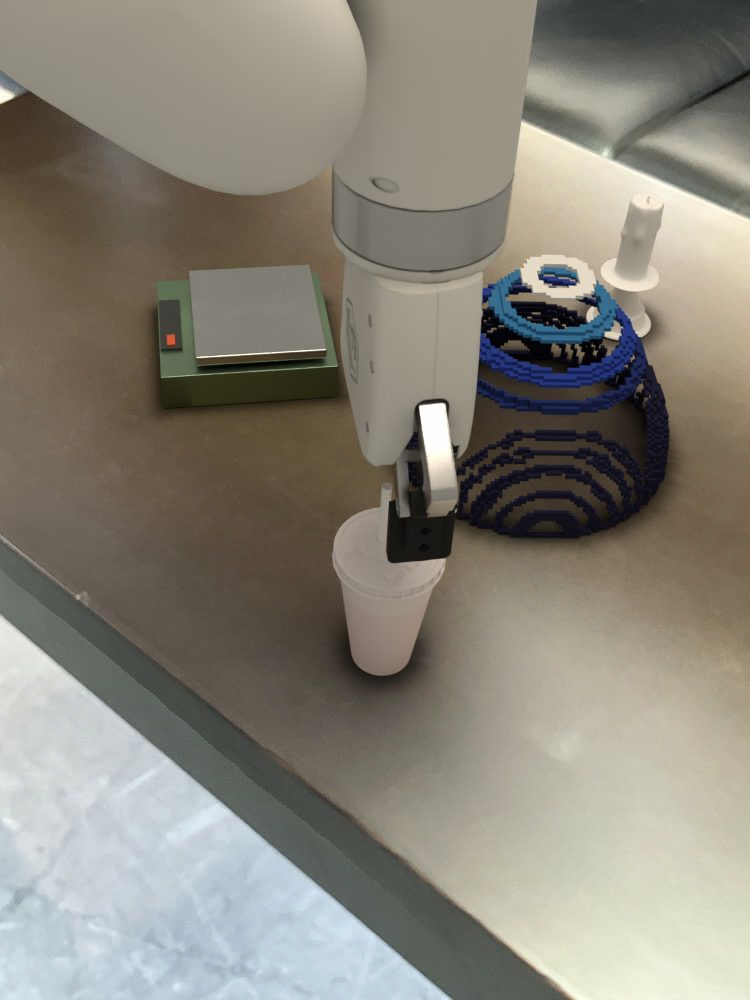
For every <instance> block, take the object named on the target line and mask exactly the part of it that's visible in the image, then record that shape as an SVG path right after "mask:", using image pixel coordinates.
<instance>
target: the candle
mask: <svg viewBox="0 0 750 1000" xmlns="http://www.w3.org/2000/svg"><path fill="white" fill-rule="evenodd" d="M664 208H665V203H664V201H663V200H662V199H661V198H660V197H658V196H656V195H654V194H651V193H636V194H635V195H634V196H633V197H632V198H631V200H630V201H629V204H628V209H627V212H626V216H625V220H624V223H623V226H622V228H621V231H620V238H621V240H620V244H619V248H618V253H617V257H613V258H611V259H609V260H606V261H605V262H604V263H603V264H602V265H601V267H600V269H599V270H600V275H601V278H602V279H603V280H604V282H606V283H607V284H608V285H609V286H611V287H612V290H610V291H609V293H610V297H611V299H615V300H616V304H618V305H619V308H621V309H622V311H624V312H625V315H627V317H628V318H630V320H631V323H632V326H633V329H634V330H635V333H636V334H638V337H641V338H643V337H645V336H646V335H648V333H649V332H650V330H651V327H652V322H651V318H650V317H649V315H648V314H647V313H646V308H645V305H644V303H643V302H642V301H641V300H640V296H639V293H642V292H647V291H650V290H652V289H654V288H655V287H656V286H657V285H659V282H660V275H659V272H658V271H657V270H656V268H654V266H653V265H651V264H650V261H651V258H652V255H653V250H654V247H655V242H656V239H657V234H658V233H659V230H660V229H661V227H662V218H663V212H664ZM597 315H600V313H599V312H598V309H597V307H593V306H590V307H589V308H588V310H587V312H586V315H585V318H586V322H590V321H591V320H594V317H597ZM613 321H614V327H611V328H612V329H611V332H605V335H604V337H603V338H606V339H610V340H614V341H619V336H622V335H621V332H620V331H621V328H623V327H620V324H619V323H617V321H615V320H613Z"/></svg>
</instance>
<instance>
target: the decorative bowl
mask: <svg viewBox="0 0 750 1000" xmlns="http://www.w3.org/2000/svg"><path fill="white" fill-rule="evenodd" d="M545 284H546V285H545ZM519 294H532V296H533V297H545V300H546V299H548V300H549V301H550V302H573V303H575V302H576V301H577V302H579V303H581V304H582V303H583V304H585V306H590V307H592V306H593V307H597V309H598V312H599V313H600V315H597V317H594V320H591V321H590V322H587V319H586V316H582V315H578V310H577V309H576V310H575V309H569V308H568V307H567V306H563V305H558V303H547V301H533V300H532V301H529V300H526V301H525V300H507V298H509V295H510V296H518V295H519ZM487 302H488V306H487V307H486V308H482V311H483V316H482V318H481V334H480V350H479V361H481V364H486V366H487V367H490V370H491V372H499V374H500V375H503V376H504V378H505V377H507V378H508V380H517V383H529V384H530V385H531V386H538V388H539V389H581V387H587V386H588V387H592V386H593V384H600V383H601V382H604V385H608V387H615V390H614V389H609V390H608V392H601V393H600V395H599V394H597V397H585V400H582V399H581V400H576V399H575V400H573V399H530V398H531V397H530V396H518V395H517V393H509V391H507V390H504V388H496V385H491V382H487V380H486V379H485V380H483V378H482V377H478V376H477V388H476V396H481V399H482V398H483V399H489V401H493V402H494V404H498V408H499V409H502V410H515V412H517V413H518V412H519V413H520V412H521V413H540V415H541V416H579V413H587V414H595V413H596V414H598V413H599V411H610V408H613V407H614V406H616V405H617V403H624V401H625V400H627V398H628V399H629V402H630V403H633V405H634V408H638V410H639V412H642V414H643V416H644V419H645V423H646V424H645V426H646V430H645V432H646V434H645V437H646V440H645V444H646V445H645V449H644V450H645V455H646V456H647V457H645V460H644V463H643V465H644V468H643V470H642V467H641V465H639V460H638V459H637V460H636V457H633V454H631V449H630V448H628V447H627V445H621V443H620V442H618V441H617V439H603V434H602V433H600V431H599V430H586V431H585V432H577V430H576V429H534V432H526V431H525V432H523V429H514V430H513V432H505V433H504V437H502V438H500V440H496V443H488V444H487V446H483V449H479V451H478V452H474V455H471V454H470V457H468V458H467V457H466V458H465V460H462V461H461V466H456V477H457V476H466V472H467V468H469V470H470V471H471V470H472V471H474V470H475V466H476V465H479V464H480V462H484V461H485V460H484V459H489V451H496V450H497V448H500V450H502V451H506V450H507V451H510V449H511V448H514V447H515V442H523V439H534V442H567V443H569V442H572V443H574V442H575V443H576V441H577V440H585V442H586V443H596V445H597V446H603V447H604V449H607V452H611V454H609V453H599V451H598V450H592V449H591V447H577V450H575V449H574V450H572V449H571V450H569V449H567V450H566V449H531V447H530V446H517V449H513V450H512V455H510V452H500V454H499V455H496V456H495V458H493V457H492V458H491V461H490V462H491V463H483V464H482V465H481V466H478V467H477V474H476V475H475V473H474V472H469V474H468V477H464V480H459V481H460V482H459V497H458V508H457V512H456V515H455V517H456V519H457V520H468V525H469V526H477V529H492V530H493V532H497V535H509V538H577V539H578V538H581V535H583V536H591V535H592V533H598V532H599V530H609V529H610V527H617V524H619V525H620V522H626V521H627V519H629V518H630V516H633V514H635V513H640V510H641V507H642V506H643V505H648V504H649V502H650V499H651V498H652V497H654V495H656V494H657V492H658V489H659V487H660V484H661V483H662V481H664V479H665V476H666V469H667V465H668V456H669V454H668V451H669V448H670V433H671V432H670V425H669V423H670V420H669V418H670V416H669V413H668V409H667V405H666V402H667V400H666V397H665V394H664V391H663V388H662V385H661V383H659V382H658V378H657V375H656V372H655V369H654V366H653V364H649V359H648V357H647V354H646V351H645V347H644V344H643V341H642V337H638V334H636V333H635V330H634V329H633V326H632V323H631V320H630V318H628V317H627V315H625V312H624V311H622V309H621V308H619V305H618V304H616V300H615V299H611V297H610V291H607V288H605V286H604V284H600V282H599V280H598V279H596V277H595V272H594V269H590V268H589V265H588V262H584V261H583V259H579V258H578V257H566V255H565V254H541V255H540V256H529V258H526V259H525V263H522V267H520V268H519V269H514V271H511V272H510V273H507V275H504V277H502V278H500V280H497V282H496V283H487V287H483V292H482V306H484V304H487ZM613 320H615V321H617V323H619V324H620V327H623V328H621V331H620V332H621V335H622V336H619V340H618V342H619V344H616V345H615V346H614V350H611V352H610V355H608V350H609V349H608V347H606V345H605V344H603V343H604V338H605V337H604V335H605V332H611V329H612V328H611V327H614V321H613ZM509 341H510V342H513V341H517V342H518V341H519V342H520V343H521V344H523V346H524V347H526V349H502V347H504V346H505V344H509ZM553 344H555V346H558V349H560V354H559V356H554V355H555V354H554V351H552V347H553ZM567 345H569V349H570V351H572V352H571V353H572V354H571V358H568V356H569V352H568V351H566V350H567ZM576 345H578V347H579V348H580V352H581V353H584V354H583V355H582V359H581V362H580V363H579V360H580V357H579V355H577V354H578V347H576ZM594 352H596V354H594ZM515 357H516V358H517V357H519V358H522V357H523V358H528V359H529V360H552V362H557V363H558V362H559V364H560V365H566V366H567V370H566V372H567V373H552V371H553V370H552V367H544V366H543V367H540V366H539V364H531V362H530V361H518V359H516V358H515ZM633 357H634V358H633ZM640 385H642V387H643V388H641V391H637V389H638V388H639V386H640ZM645 399H646V400H645ZM644 400H645V401H644ZM644 405H645V406H644ZM412 447H419V439H418V432H413V436H412V437H411V439H410V441H409V442H408V444H407V446H406V447H405V448H412ZM610 455H611V457H612V458H614V460H615V461H617V463H618V464H620V465H621V466H623V469H626V471H622V468H618V467H616V465H615V464H614V465H613V462H612V459H610ZM516 456H517V457H519V456H520V457H521V458H517V457H516ZM535 456H536V457H537V456H538V457H573V459H574V460H585V465H586V466H592V468H593V469H595V470H596V472H598V473H599V474H600V475H606V477H608V478H609V480H611V481H612V483H615V485H616V486H618V488H617V489H618V492H620V497H622V500H621V508H623V510H622V509H619V507H617V501H615V499H614V498H613V493H610V491H609V490H607V489H606V487H603V484H602V485H601V484H600V482H598V481H597V479H596V478H595V479H593V474H592V473H590V471H589V470H584V471H583V469H582V467H575V464H543V463H542V464H540V463H539V464H537V463H536V464H533V466H525V467H524V469H512V471H511V472H508V473H507V475H499V476H498V478H497V477H496V478H494V480H491V481H490V483H486V484H485V489H480V494H476V495H475V500H471V504H470V508H469V513H463V509H464V504H468V503H469V490H473V489H474V485H483V482H484V481H483V476H487V475H488V473H492V471H496V470H497V465H499V467H500V468H504V467H505V465H526V464H527V460H528V459H529V460H530V459H532V460H533V459H535ZM587 457H591V458H590V459H589V458H587ZM407 464H408V478H409V481H411V486H412V487H419V490H423V489H422V487H423V483H424V475H423V467H422V466H421V474H420V475H421V477H418V476H417V475H418V462H407ZM582 472H583V473H582ZM625 473H626V475H629V477H630V478H632V480H633V485H629V484H628V480H627V479H625ZM542 474H545V477H563V474H564V479H565V480H575V483H583V486H590V490H589V492H590V494H591V495H593V497H596V499H597V500H599V501H600V503H605V511H607V515H608V517H607V518H606V520H604V521H603V523H602V516H601V515H599V513H598V512H596V511H597V510H596V507H593V504H590V502H589V501H587V499H586V498H583V496H582V495H576V492H575V493H573V490H565V489H564V490H563V489H561V490H555V489H553V490H549V489H541V490H540V489H539V490H538V489H536V490H535V492H527V493H526V495H518V497H517V498H516V497H514V498H513V500H512V501H511V500H509V503H505V504H504V506H500V509H499V511H495V515H494V520H493V521H494V522H484V519H483V517H484V516H487V515H489V510H493V509H494V505H497V504H498V503H499V499H503V498H504V494H503V492H504V491H507V490H508V488H512V487H513V485H521V482H523V483H524V482H526V483H527V482H528V483H529V481H530V480H540V479H542V478H543V476H542ZM457 478H458V477H457ZM644 481H645V482H644ZM632 490H633V492H635V494H634V495H635V497H637V498H636V500H635V501H633V502H632V501H631V499H632V495H633V492H632ZM544 499H545V500H569V502H570V503H573V505H575V506H576V508H580V509H581V508H582V513H583V514H585V515H586V517H588V519H587V522H586V525H580V523H581V520H580V518H577V515H574V513H573V512H571V510H569V509H565V510H564V509H534V510H533V512H524V513H525V514H524V515H523V514H521V515H520V518H519V520H515V524H514V525H511V526H510V525H504V520H505V519H508V518H509V514H510V513H513V512H514V508H522V507H523V505H527V502H533V503H534V502H536V500H544ZM541 522H555V525H558V527H559V528H561V529H562V530H563V531H528V530H532V528H533V527H536V526H537V525H540V524H541Z"/></svg>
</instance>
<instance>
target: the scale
mask: <svg viewBox="0 0 750 1000" xmlns="http://www.w3.org/2000/svg"><path fill="white" fill-rule="evenodd" d="M311 274H312V279H313V284H314V289H315V294H316V299H317V304H318V309H319V314H320V319H321V324H322V329H323V334H324V339H325V343H326V348H327V357H326V358H314V359H298V360H282V361H266V362H250V363H234V364H218V365H202V366H197V365H196V359H195V346H194V333H193V320H192V307H191V294H190V281H189V279H174V280H171V279H170V280H157V281H156V296H157V297H156V298H157V299H156V300H157V301H156V303H157V318H158V319H157V323H158V324H157V325H158V346H159V347H158V348H159V367H160V368H159V371H160V381H161V393H162V401H163V408H164V409H177V408H189V407H204V406H220V405H232V404H233V405H234V404H247V403H262V402H264V403H265V402H277V401H291V400H307V399H308V400H310V399H322V398H324V399H325V398H337V397H338V388H339V386H338V384H339V364H338V363H339V362H338V359H337V354H336V350H335V344H334V340H333V336H332V334H333V333H332V331H331V330H332V329H331V325H330V320H329V316H328V311H327V307H326V302H325V297H324V293H323V292H324V291H323V288H322V283H321V278H320V273H319V272H311Z"/></svg>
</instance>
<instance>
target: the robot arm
mask: <svg viewBox="0 0 750 1000" xmlns="http://www.w3.org/2000/svg"><path fill="white" fill-rule="evenodd" d="M537 6H538V0H0V72H2V73H4V74H5V75H6V76H8V77H9V78H10V79H11V80H13V81H14V82H16V83H17V84H19V85H20V86H21V87H23V88H25V89H26V90H28V91H29V92H31V93H32V94H33V95H35V96H37V97H38V98H40V99H41V100H43V101H44V102H46V103H48V104H49V105H51V106H52V107H55V108H56V109H58V110H60V111H61V112H63V113H65V114H66V115H68V116H69V117H70V118H71V119H74V120H75V121H76V122H79V123H80V124H82V125H84V126H85V127H87V128H89V129H90V130H92V131H94V132H95V133H97V134H99V135H100V136H102V137H103V138H105V139H107V140H109V141H110V142H112V143H113V144H115V145H117V146H118V147H120V148H122V149H123V150H125V151H127V152H128V153H130V154H132V155H134V156H136V157H137V158H139V159H140V160H142V161H144V162H146V163H147V164H150V165H151V166H153V167H155V168H157V169H158V170H161V171H163V172H165V173H167V174H169V175H170V176H173V177H176V178H178V179H179V180H181V181H184V182H187V183H189V184H192V185H195V186H198V187H201V188H203V189H204V188H205V189H207V190H210V191H214V192H219V193H224V194H229V195H236V196H266V195H271V194H272V195H273V194H277V193H283V192H287V191H289V190H293V189H294V188H297V187H300V186H303V185H304V184H307V183H309V182H310V181H311V180H313V179H314V178H316V177H317V176H319V175H320V174H322V173H323V172H325V171H326V170H327V169H328V168H329V167H330V166H331V221H330V222H331V223H330V225H331V226H330V229H331V230H330V231H331V237H332V241H333V243H334V245H335V247H336V248H337V250H338V251H339V253H340V254H342V255H343V256H344V267H343V286H342V303H341V304H342V305H341V318H340V339H339V341H340V356H341V362H342V368H343V372H344V378H345V383H346V387H347V392H348V399H349V402H350V407H351V412H352V416H353V421H354V425H355V429H356V433H357V438H358V443H359V446H360V450H361V453H362V455H363V457H364V458H365V460H366V461H368V463H370V465H372V466H374V467H380V466H392V473H393V487H394V499H393V500H391V501H389V507H388V524H387V542H386V554H387V559H388V561H389V562H390V563H404V562H414V561H427V560H434V559H444V558H446V559H447V558H449V557H450V556H451V554H452V548H453V540H454V532H455V523H456V516H455V515H456V512H457V509H458V506H459V493H460V491H459V484H458V477H456V471H457V469H456V463H455V460H458V459H459V458H461V456H463V455H464V453H465V452H466V451H467V448H468V446H469V443H470V438H471V433H472V428H473V422H474V413H475V406H476V398H477V390H476V388H477V377H478V374H479V363H480V362H479V361H480V360H479V350H480V334H481V318H482V316H483V311H482V309H483V305H482V292H483V288H484V270H485V269H486V268H488V267H489V266H491V265H492V264H493V263H494V262H495V261H496V260H497V259H498V258H499V257H500V255H501V254H502V252H503V251H504V249H505V246H506V242H507V232H508V227H509V219H510V212H511V205H512V196H513V189H514V181H515V173H516V172H515V170H516V164H517V156H518V149H519V148H518V147H519V143H520V141H519V140H520V134H521V126H522V121H523V120H522V119H523V110H524V104H525V97H526V90H527V82H528V74H529V67H530V59H531V52H532V45H533V36H534V29H535V22H536V15H537ZM413 432H418V447H412V448H405V447H406V446H407V444H408V442H409V443H410V439H411V437H412V436H413ZM407 462H408V464H407ZM409 462H417V463H418V462H421V468H422V467H423V475H424V483H423V487H422V489H423V490H420V489H418V490H410V480H409V478H408V467H409Z"/></svg>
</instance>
